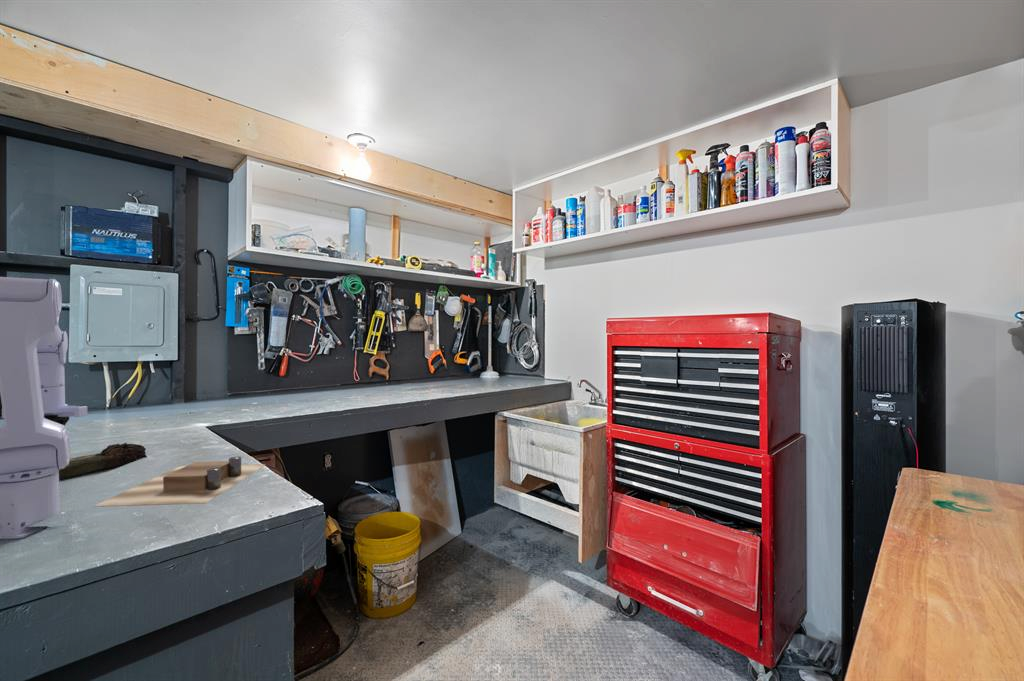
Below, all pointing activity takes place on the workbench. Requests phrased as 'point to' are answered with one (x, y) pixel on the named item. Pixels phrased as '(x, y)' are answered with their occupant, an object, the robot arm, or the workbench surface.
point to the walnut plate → (193, 476)
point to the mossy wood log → (104, 459)
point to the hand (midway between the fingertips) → (46, 451)
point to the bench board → (155, 495)
